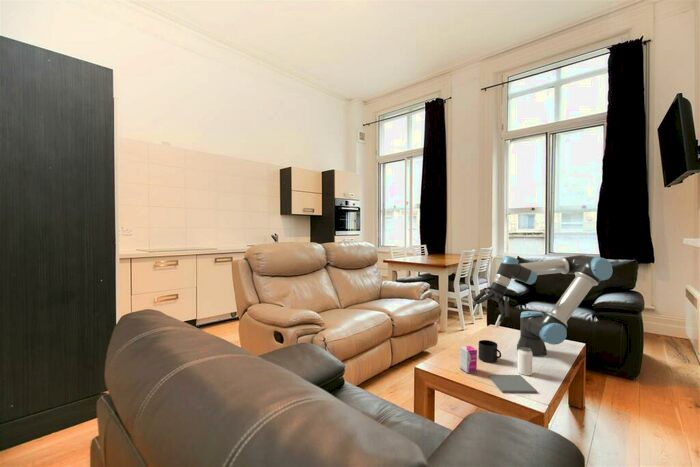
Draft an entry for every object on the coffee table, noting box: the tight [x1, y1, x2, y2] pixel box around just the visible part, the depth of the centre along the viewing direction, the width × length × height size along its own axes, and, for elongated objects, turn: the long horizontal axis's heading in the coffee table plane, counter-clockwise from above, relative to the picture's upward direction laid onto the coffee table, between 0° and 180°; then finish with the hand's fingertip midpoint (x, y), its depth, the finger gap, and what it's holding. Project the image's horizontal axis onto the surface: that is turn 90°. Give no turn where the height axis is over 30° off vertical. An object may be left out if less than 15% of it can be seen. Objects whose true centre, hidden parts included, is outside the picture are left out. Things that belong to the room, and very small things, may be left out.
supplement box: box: [459, 345, 478, 374], centre depth 163 cm, size 6×6×12 cm
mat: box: [488, 374, 538, 394], centre depth 149 cm, size 15×15×1 cm
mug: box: [477, 339, 502, 364], centre depth 176 cm, size 9×12×9 cm
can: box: [516, 347, 533, 377], centre depth 161 cm, size 6×6×12 cm
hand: (484, 321), depth 172 cm, fingers open, 13 cm apart
